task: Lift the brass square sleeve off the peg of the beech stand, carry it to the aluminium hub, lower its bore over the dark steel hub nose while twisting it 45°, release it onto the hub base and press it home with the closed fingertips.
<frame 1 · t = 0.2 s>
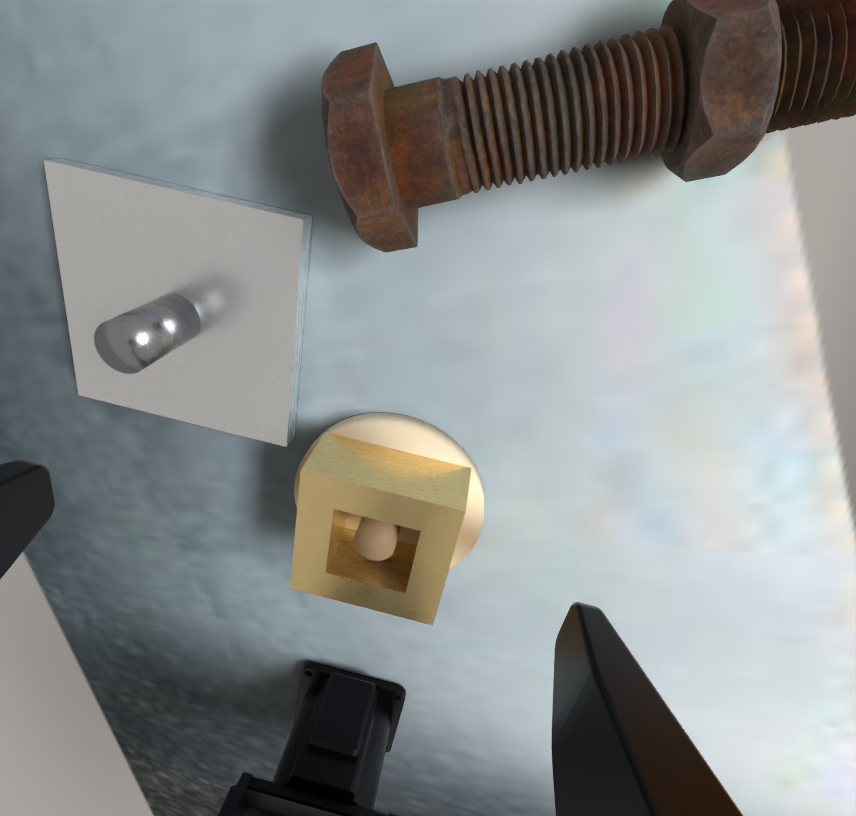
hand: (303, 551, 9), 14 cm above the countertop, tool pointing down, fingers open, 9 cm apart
stand: (391, 495, 25), on the countertop
bolt: (586, 116, 18), on the countertop
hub: (190, 310, 22), on the countertop
brass square sleeve: (386, 507, 24), point 1 cm above the countertop, touching stand
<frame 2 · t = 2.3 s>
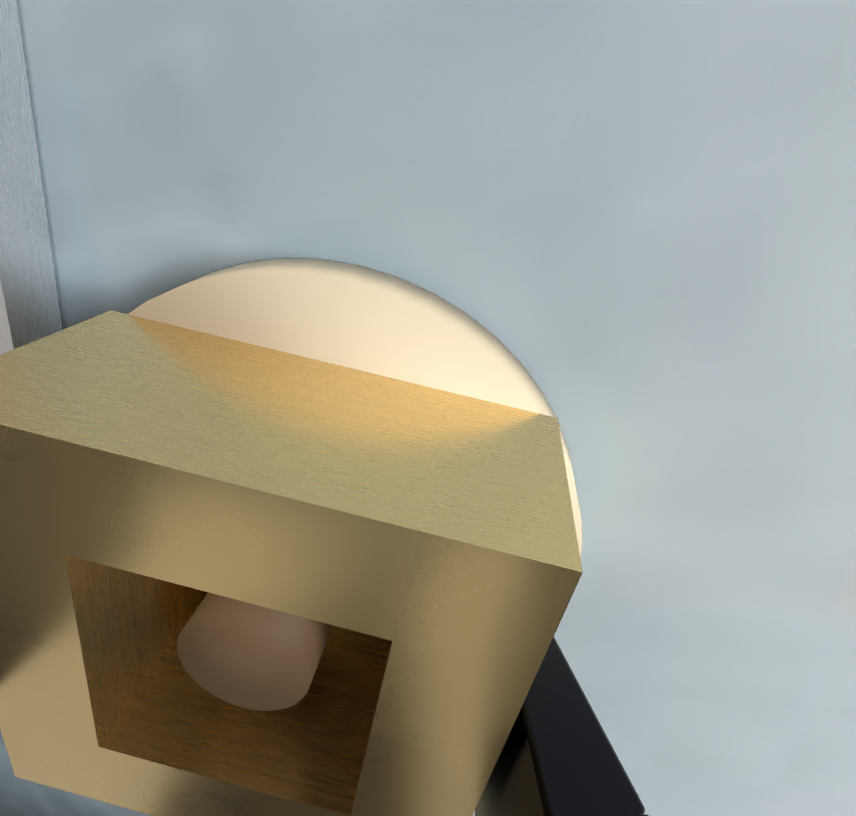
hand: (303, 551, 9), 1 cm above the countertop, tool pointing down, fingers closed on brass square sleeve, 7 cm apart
stand: (328, 502, 10), on the countertop
brass square sleeve: (310, 537, 9), point 1 cm above the countertop, touching gripper, stand
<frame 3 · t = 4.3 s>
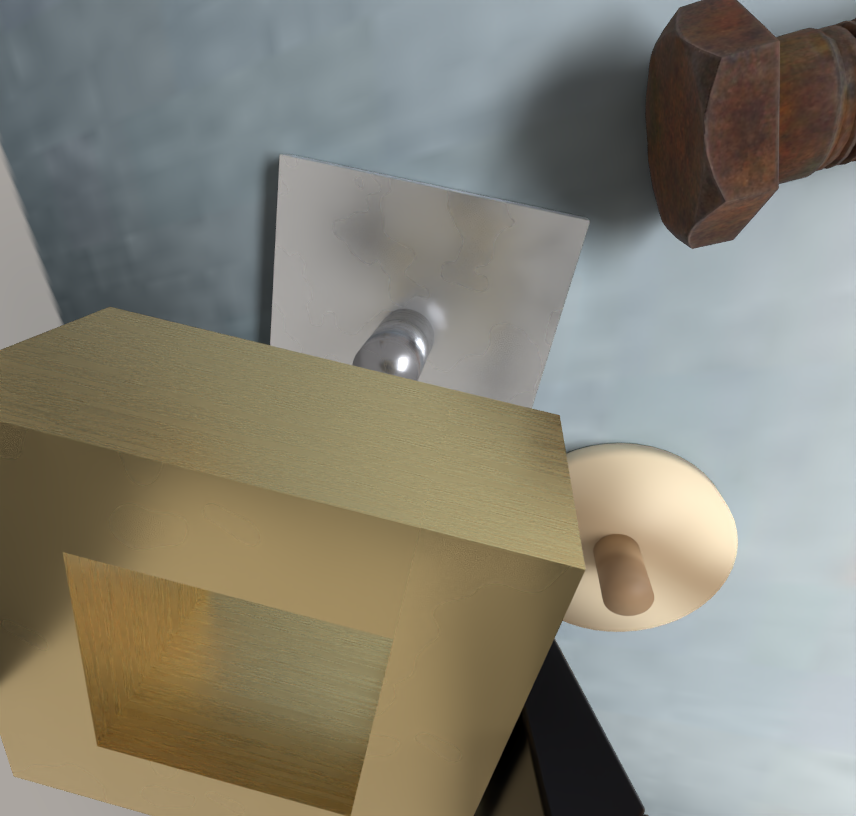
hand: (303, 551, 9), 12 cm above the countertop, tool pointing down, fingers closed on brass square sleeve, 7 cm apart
stand: (612, 535, 22), on the countertop
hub: (411, 328, 20), on the countertop
brass square sleeve: (310, 535, 9), point 12 cm above the countertop, touching gripper
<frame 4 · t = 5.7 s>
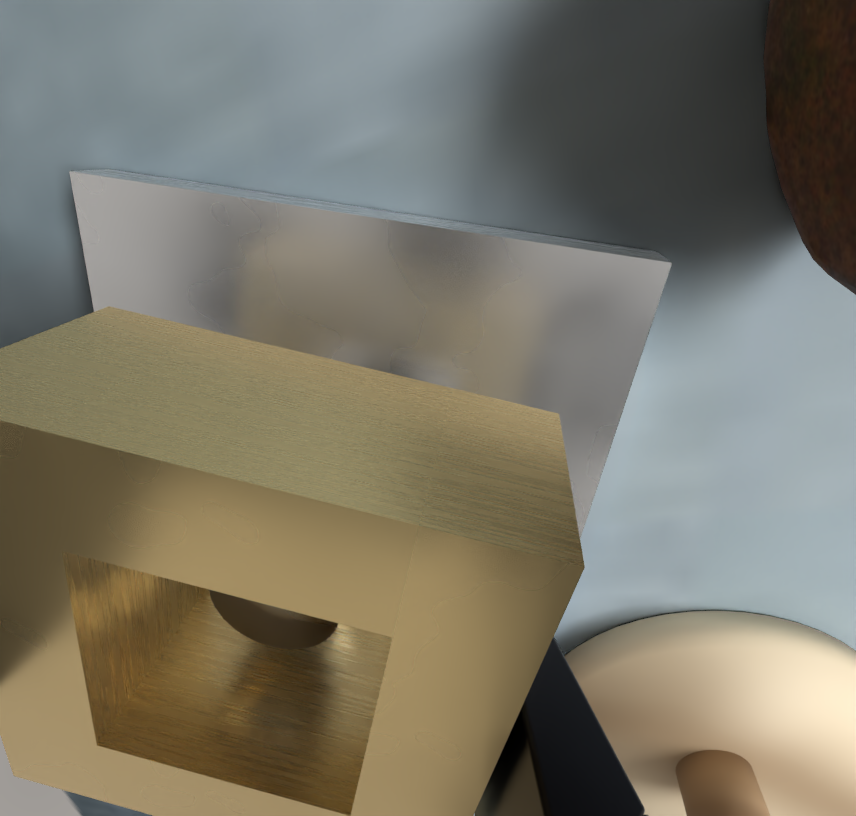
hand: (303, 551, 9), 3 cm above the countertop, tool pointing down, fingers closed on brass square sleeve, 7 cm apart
stand: (701, 732, 14), on the countertop
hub: (355, 445, 12), on the countertop
brass square sleeve: (309, 535, 9), point 3 cm above the countertop, touching gripper
when the fingers open (2 cm above the countertop, at t = 6.5 s): brass square sleeve stays where it is, resting on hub.
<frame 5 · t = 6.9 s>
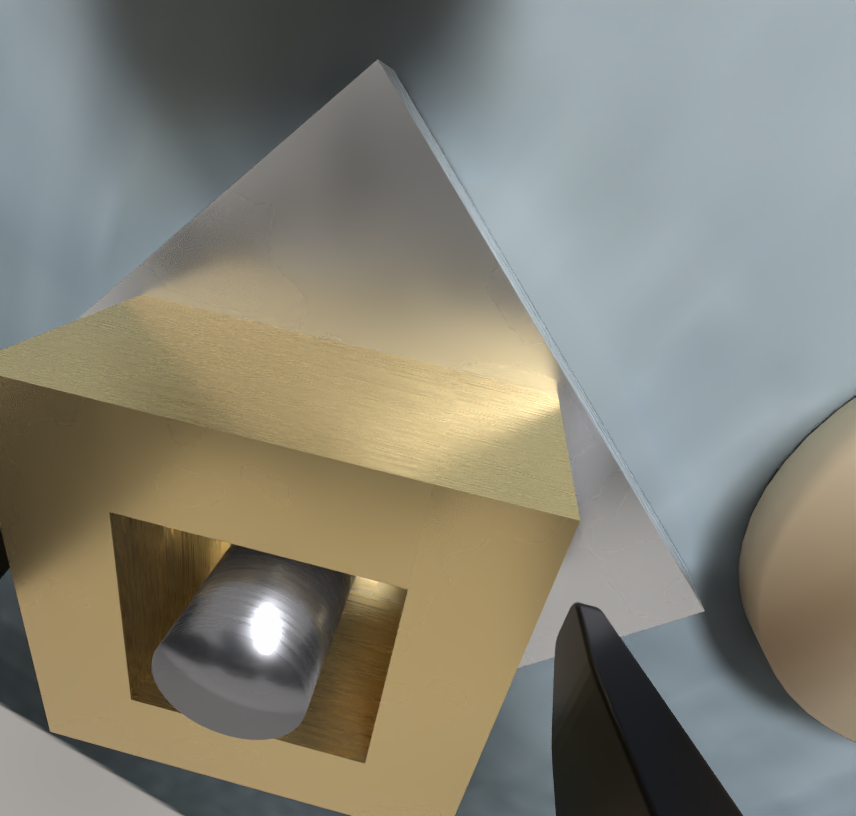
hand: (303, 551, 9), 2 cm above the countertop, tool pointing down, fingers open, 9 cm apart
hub: (337, 482, 10), on the countertop
brass square sleeve: (324, 511, 10), point 1 cm above the countertop, touching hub
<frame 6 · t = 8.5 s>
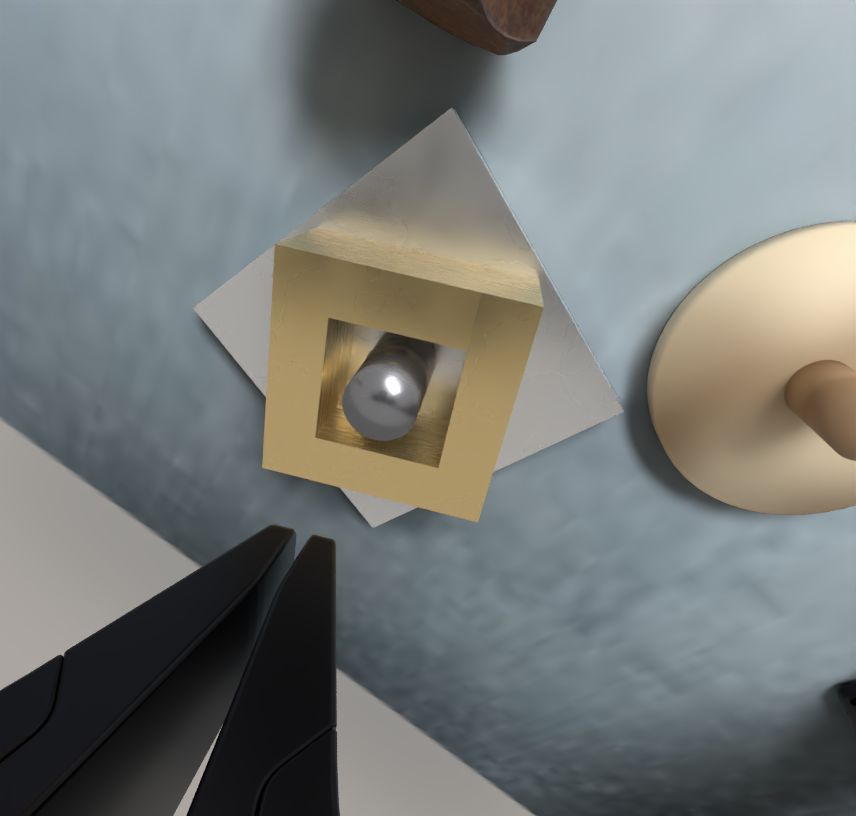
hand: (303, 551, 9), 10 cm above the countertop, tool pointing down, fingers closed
stand: (802, 375, 16), on the countertop
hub: (410, 348, 18), on the countertop
brass square sleeve: (406, 357, 17), point 1 cm above the countertop, touching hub
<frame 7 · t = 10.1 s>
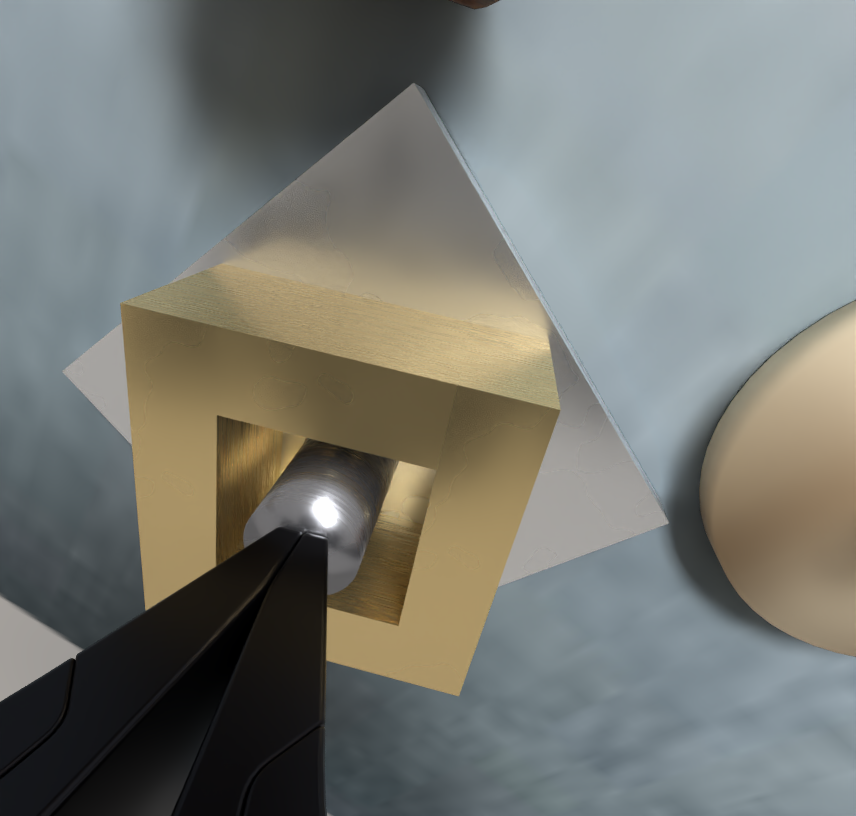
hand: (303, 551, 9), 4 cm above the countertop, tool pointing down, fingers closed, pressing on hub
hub: (368, 424, 13), on the countertop
brass square sleeve: (360, 443, 12), point 1 cm above the countertop, touching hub
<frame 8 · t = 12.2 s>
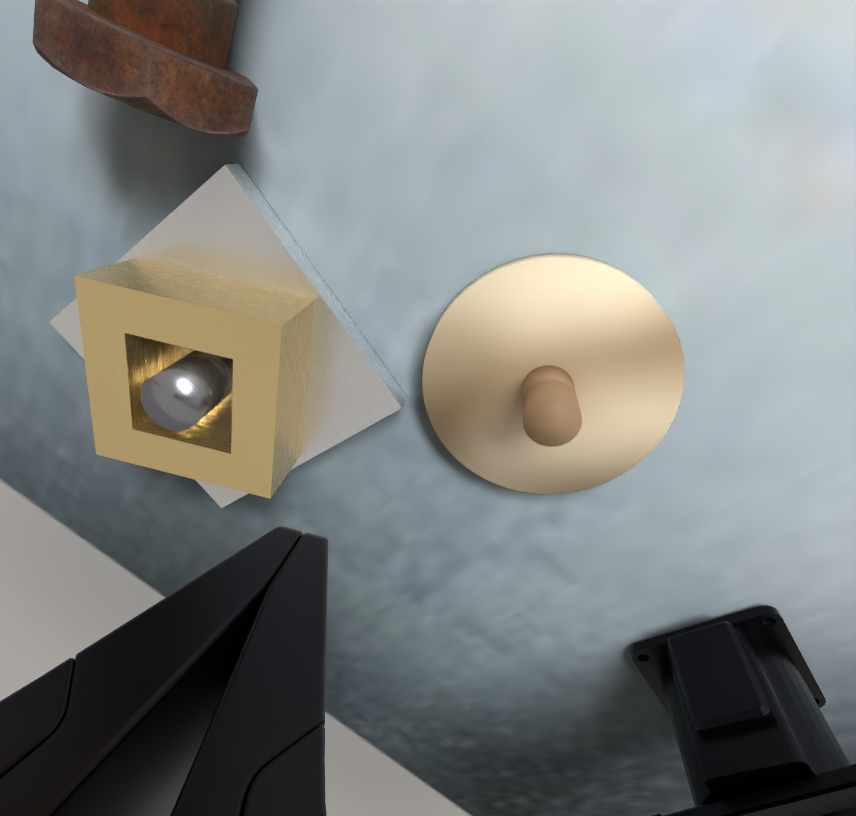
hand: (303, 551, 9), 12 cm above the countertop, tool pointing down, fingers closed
stand: (546, 378, 19), on the countertop
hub: (235, 355, 21), on the countertop
brass square sleeve: (224, 363, 20), point 1 cm above the countertop, touching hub
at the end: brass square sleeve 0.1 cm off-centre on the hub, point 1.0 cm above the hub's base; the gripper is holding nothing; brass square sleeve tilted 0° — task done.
